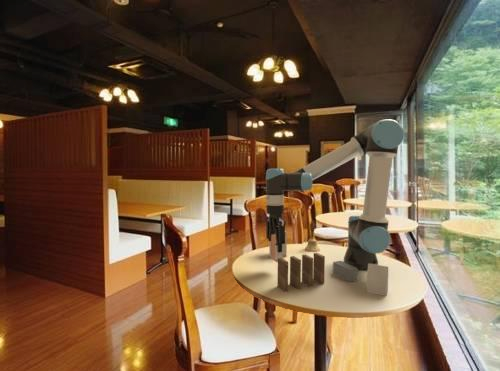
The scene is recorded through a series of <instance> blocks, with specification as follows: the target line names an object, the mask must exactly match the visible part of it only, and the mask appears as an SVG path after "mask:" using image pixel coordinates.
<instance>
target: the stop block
mask: <svg viewBox="0 0 500 371" xmlns="http://www.w3.org/2000/svg"><path fill="white" fill-rule="evenodd" d="M358 273H359V269H358V268H356V267H354V266H352V265H349V264H347V263H345V262H344V261H342V260H336V261H333V262H332V274H334V275H335V276H337V277H339V278H341V279H343V280H345V281H347V282H349V283H350V282H355V281H358Z"/></svg>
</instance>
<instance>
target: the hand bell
mask: <svg viewBox="0 0 500 371" xmlns="http://www.w3.org/2000/svg"><path fill="white" fill-rule="evenodd" d="M315 227H316V225H315V221H314V220H311V221H310V223H309V230H310V238H309V239H308V241H307V245H306V246H305V248H304V250H305V251H306V252H313V253H316V252H319V251H320V250H321V249H320V247H319V246H318V242H317V239H315V234H314V233H315V230H316V228H315Z"/></svg>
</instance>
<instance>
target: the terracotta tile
mask: <svg viewBox="0 0 500 371" xmlns="http://www.w3.org/2000/svg"><path fill="white" fill-rule="evenodd" d="M275 244H277V243H276V235H275V234H271V256H270V257H271V260H272V261H274V262H276V263H278V260H276V245H275Z"/></svg>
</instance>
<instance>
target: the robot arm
mask: <svg viewBox="0 0 500 371" xmlns="http://www.w3.org/2000/svg"><path fill="white" fill-rule="evenodd" d="M404 137H405V132H404V129H403V127H402V125H401V124H400V123H399V122H398V121H397V120H395V119H387V118H386V119H380V120H378V121H376V122H374V123H373V124H370V125H369V126H367V127H366V128H364V129H363V130H362V131H360V132H359V133H357V134H356V135H354V136H352V137H351V138H350V141H348V142H346V143H344V144H343V145H340V146H339V147H337V148H335V149H334V150H331V151H330V152H327V153H326V154H325V155H323V156H321V157H319V158H318V159H316V160H313V161H311V163H309V164H307V165H305V166H303V167H302V168H300V169H298V170H296V171H293V172H290V173H289V172H284V171H285V170H284V168H268V169H267V170H265V171H266V173H265V174H266V175H265V194H266V196H265V200H266V205H265V206H266V214H268V216H265V223H266V225H265V226H266V228H265V229H266V239H268V241H269V244H268V245H269V246H268V249H269V255H268V256H269V257H271V234H275V235H276V243H277V244H275V245H276V260H278V258H283V257H282V244H285V231H286V220H283V218H282V214H284V212H285V206H284V203H285V197H284V196H285V193H284V192H285V191H286V192H287V191H294V192H295V191H303V192H306V191H311V190H312V189H313V181H314V180H316V179H318V178H320V177H321V176H323V175H325V174H327V173H330V171H331V172H332V171H334V170H335V169H337V168H338V167H341V165H345V163H347V162H349V161H351V160H353V159H354V158H357V157H362V156H365V155H367V156H368V158H369V159H368V167H367V174H366V182H365V184H366V185H365V191H364V192H365V193H364V200H363V202H364V203H363V209H362V210H363V211H362V214H361V215H350V216H349V217H348V221H347V223H348V229H347V248H346V250H345V254H344V256H343V262H345V263H347V264H349V265H352V266H354V267H356V268H358V270H365V271H367V270H368V263H369V264H375V265H379V260H378V256H377V254H381V253H383V252H384V251H385V250H387V249H388V248H389V246H390V245H391V240H392V238H391V234H390V232H389V231H388V229H389V220H388V218H387V217H386V214H387V204H388V203H387V202H388V196H389V188H390V181H391V173H392V172H391V171H392V164H393V159H394V157H396V156H397V155H398V150H399V149H398V148H399V146H400V145H401V144H402V142H403V140H404Z"/></svg>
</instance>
